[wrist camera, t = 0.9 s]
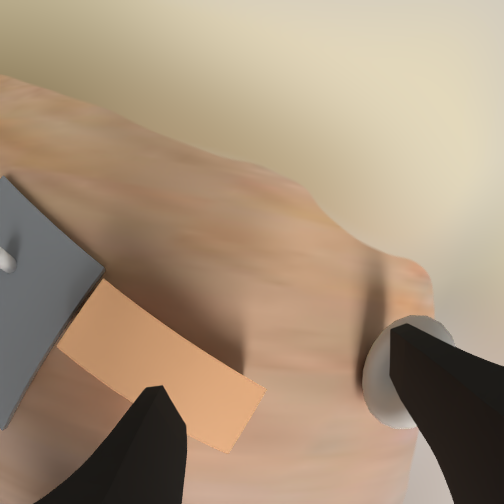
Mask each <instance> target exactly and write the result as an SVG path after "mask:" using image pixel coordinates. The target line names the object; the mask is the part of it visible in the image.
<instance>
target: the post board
mask: <svg viewBox="0 0 504 504" xmlns="http://www.w3.org/2000/svg"><path fill="white" fill-rule="evenodd" d="M104 272H105V268H104V267H103V266H102V265H101V264H99V263H98V262H97V261H96V260H95V259H93V258H92V257H91V256H90V255H88V254H87V253H86V252H85V251H84V250H83V249H81V248H80V247H79V246H78V245H77V244H76V243H74V242H73V241H72V240H71V239H70V238H69V237H68V236H66V235H65V234H64V233H63V232H62V231H61V230H60V229H58V228H57V227H56V226H55V225H54V224H53V223H52V222H51V221H50V220H49V219H48V218H46V217H45V216H44V215H43V214H42V213H41V212H40V211H39V210H38V209H37V208H36V207H35V206H34V205H33V204H32V203H31V202H30V201H28V200H27V199H26V198H25V197H24V196H23V195H22V194H21V193H20V192H19V191H18V190H17V189H16V188H15V187H14V186H13V185H12V184H11V183H10V182H9V181H8V180H7V179H6V177H5V176H4V175H3V176H2V177H1V179H0V429H1V430H2V431H3V430H4V429H6V428H7V426H8V424H9V423H10V421H11V419H12V417H13V415H14V413H15V411H16V409H17V407H18V405H19V403H20V402H21V400H22V398H23V396H24V394H25V393H26V391H27V389H28V387H29V385H30V384H31V382H32V380H33V379H34V377H35V375H36V373H37V372H38V370H39V368H40V367H41V365H42V363H43V362H44V360H45V358H46V357H47V355H48V354H49V352H50V350H51V349H52V347H53V346H54V344H55V343H56V341H57V339H58V338H59V336H60V335H61V333H62V332H63V330H64V329H65V327H66V326H67V324H68V323H69V321H70V320H71V318H72V317H73V315H74V314H75V313H76V311H77V310H78V308H79V307H80V305H81V304H82V302H83V301H84V300H85V298H86V297H87V295H88V294H89V293H90V291H91V290H92V288H93V287H94V286H95V284H96V283H97V282H98V280H99V279H100V278H101V276H102V275H103V274H104Z"/></svg>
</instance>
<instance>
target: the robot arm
mask: <svg viewBox="0 0 504 504" xmlns="http://www.w3.org/2000/svg"><path fill="white" fill-rule="evenodd" d="M389 376H390V379H391V381H392V383H393V385H394V387H395V389H396V392H397V394H398V396H399V398H400V400H401V402H402V403H403V405H404V406H405V408H406V409H407V411H408V413H409V414H410V416H411V417H412V419H413V421H414V422H415V424H416V425H417V427H418V428H419V430H420V431H421V433H422V434H423V436H424V438H425V439H426V441H427V443H428V444H429V446H430V447H431V449H432V451H433V453H434V455H435V457H436V459H437V461H438V463H439V465H440V468H441V470H442V472H443V475H444V477H445V480H446V482H447V485H448V487H449V490H450V493H451V495H452V498H453V501H454V504H504V366H500V365H498V364H495V363H492V362H489V361H487V360H484V359H482V358H479V357H477V356H474V355H472V354H470V353H467V352H465V351H463V350H461V349H459V348H457V347H454V346H452V345H450V344H448V343H446V342H444V341H442V340H440V339H438V338H436V337H434V336H432V335H430V334H428V333H426V332H424V331H422V330H420V329H418V328H416V327H414V326H412V325H410V324H408V323H405V324H403V325H400V326H397V327H395V328H392V329H390V368H389ZM186 458H187V428H186V424H185V422H184V421H183V419H182V417H181V416H180V414H179V412H178V411H177V409H176V407H175V406H174V404H173V402H172V400H171V399H170V397H169V395H168V393H167V392H166V390H165V388H164V386H163V385H160V386H153V387H146V388H145V389H144V390H143V391H142V393H141V394H140V395H139V396H138V398H137V399H136V400H135V402H134V403H133V404H132V406H131V407H130V408H129V410H128V411H127V412H126V414H125V415H124V416H123V417H122V419H121V420H120V421H119V423H118V424H117V425H116V427H115V428H114V429H113V430H112V432H111V433H110V434H109V435H108V437H107V438H106V439H105V440H104V441H103V442H102V444H101V445H100V446H99V447H98V448H97V449H96V451H95V452H94V453H93V454H92V455H91V456H90V457H89V458H88V460H87V461H86V462H85V463H84V464H83V465H82V466H81V467H80V468H79V469H78V470H76V471H75V472H74V473H73V474H72V475H71V476H70V477H69V478H68V479H67V480H65V481H64V482H63V483H62V484H60V485H59V486H58V487H56V488H55V489H54V490H53V491H51V492H50V493H49V494H47V495H46V496H45V497H43V498H42V499H40V500H38V501H37V502H35V503H34V504H182V495H183V485H184V477H185V467H186Z"/></svg>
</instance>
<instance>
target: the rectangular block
mask: <svg viewBox="0 0 504 504" xmlns="http://www.w3.org/2000/svg"><path fill="white" fill-rule="evenodd" d="M56 347H57V348H58V349H60V350H61V351H62V352H63V353H64V354H66V355H67V356H68V357H69V358H71V359H72V360H73V361H74V362H76V363H77V364H78V365H79V366H81V367H82V368H83V369H85V370H86V371H87V372H89V373H90V374H91V375H93V376H94V377H95V378H97V379H98V380H100V381H101V382H102V383H104V384H105V385H107V386H108V387H109V388H111V389H112V390H114V391H115V392H117V393H118V394H120V395H121V396H123V397H124V398H126V399H127V400H129V401H130V402H132V403H134V402H135V400H136V399H137V398H138V396H139V395H140V394H141V393H142V391H143V390H144V389H145V388H146V387H153V386H160V385H163V386H164V388H165V390H166V392H167V393H168V395H169V397H170V399H171V400H172V402H173V404H174V406H175V407H176V409H177V411H178V412H179V414H180V416H181V417H182V419H183V421H184V422H185V424H186V428H187V435H189V436H191V437H193V438H195V439H197V440H199V441H201V442H203V443H205V444H207V445H209V446H211V447H213V448H215V449H217V450H219V451H222V452H224V453H226V454H229V452H230V450H231V449H232V447H233V446H234V444H235V442H236V441H237V439H238V438H239V436H240V434H241V433H242V431H243V429H244V428H245V426H246V424H247V423H248V421H249V419H250V418H251V416H252V414H253V413H254V411H255V409H256V408H257V406H258V404H259V402H260V401H261V399H262V397H263V395H264V394H265V392H266V390H267V389H265V388H264V387H262V386H260V385H258V384H257V383H255V382H253V381H252V380H250V379H248V378H246V377H245V376H243V375H241V374H240V373H238V372H236V371H235V370H233V369H231V368H230V367H228V366H227V365H225V364H223V363H222V362H220V361H219V360H217V359H215V358H214V357H212V356H211V355H209V354H208V353H206V352H204V351H203V350H201V349H200V348H198V347H197V346H195V345H194V344H192V343H191V342H189V341H188V340H186V339H185V338H183V337H182V336H180V335H179V334H177V333H176V332H175V331H173V330H172V329H170V328H169V327H167V326H166V325H165V324H163V323H162V322H160V321H159V320H158V319H156V318H155V317H153V316H152V315H151V314H149V313H148V312H146V311H145V310H144V309H142V308H141V307H140V306H138V305H137V304H136V303H134V302H133V301H132V300H130V299H129V298H128V297H126V296H125V295H124V294H123V293H121V292H120V291H119V290H117V289H116V288H115V287H114V286H112V285H111V284H110V283H109V282H107V281H106V280H105V279H104V278H103V280H102V281H101V282H100V284H99V285H98V286H97V288H96V289H95V290H94V292H93V293H92V295H91V296H90V297H89V299H88V300H87V302H86V303H85V304H84V306H83V307H82V309H81V310H80V312H79V313H78V315H77V316H76V317H75V319H74V320H73V322H72V323H71V325H70V326H69V328H68V329H67V331H66V332H65V334H64V335H63V337H62V338H61V340H60V342H59V343H58V345H57V346H56Z"/></svg>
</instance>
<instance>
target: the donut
mask: <svg viewBox="0 0 504 504" xmlns="http://www.w3.org/2000/svg"><path fill="white" fill-rule="evenodd" d="M405 323H408V324H410V325H412V326H414V327H416V328H418V329H420V330H422V331H424V332H426V333H428V334H430V335H432V336H434V337H436V338H438V339H440V340H442V341H444V342H446V343H448V344H450V345H452V346H454V347H456V346H455V343H454V340H453V338H452V336H451V334H450V333H449V332H448V331H447V329H446V328H445V327H444V326H443V325H442V324H441V323H440V322H438V321H436V320H434V319H432V318H430V317H428V316H416V315H410V316H407V317H404V318H402V319H399V320H397V321H394V322H393V323H392V324H391V325H389V326H388V327H387V328H385V329H384V330H383V331H382V332H381V334H380V335H379V336H378V338H377V339H376V340H375V341H374V343H373V345H372V347H371V349H370V351H369V353H368V355H367V358H366V361H365V365H364V369H363V379H362V388H363V394H364V400H365V402H366V404H367V407H368V409H369V411H370V413H371V414H372V415H373V416H374V417H375V418H376V419H377V420H378V421H379V422H380V423H382V424H384V425H386V426H389V427H391V428H394V429H409V428H414V427H417V425H416V424H415V422H414V421H413V419H412V417H411V416H410V414H409V413H408V411H407V409H406V408H405V406H404V405H403V403H402V402H401V400H400V398H399V396H398V394H397V392H396V389H395V387H394V385H393V383H392V381H391V379H390V376H389V368H390V329H392V328H395V327H397V326H400V325H403V324H405Z"/></svg>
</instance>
